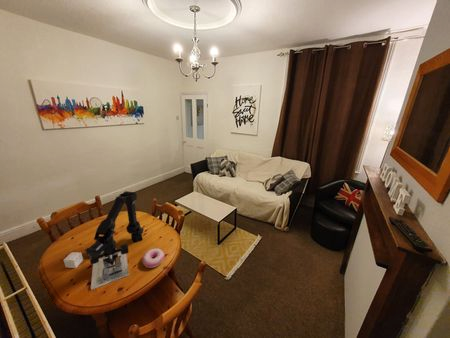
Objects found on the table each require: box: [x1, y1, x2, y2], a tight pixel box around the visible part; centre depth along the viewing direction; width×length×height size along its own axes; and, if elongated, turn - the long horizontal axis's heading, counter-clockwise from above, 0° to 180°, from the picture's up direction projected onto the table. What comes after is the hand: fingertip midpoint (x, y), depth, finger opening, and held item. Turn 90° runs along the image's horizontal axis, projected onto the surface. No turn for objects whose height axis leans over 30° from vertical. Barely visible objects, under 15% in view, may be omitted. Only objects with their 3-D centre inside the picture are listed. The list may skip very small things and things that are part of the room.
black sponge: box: [84, 239, 117, 258], centre depth 122 cm, size 16×8×4 cm, turn 134°
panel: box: [90, 252, 130, 291], centre depth 108 cm, size 18×20×2 cm
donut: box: [141, 248, 166, 269], centre depth 115 cm, size 14×13×5 cm
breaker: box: [102, 268, 109, 280], centre depth 102 cm, size 3×4×4 cm
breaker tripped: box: [115, 257, 121, 267], centre depth 109 cm, size 3×4×4 cm
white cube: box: [63, 251, 84, 269], centre depth 110 cm, size 6×6×6 cm
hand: (112, 264), depth 108 cm, fingers closed
